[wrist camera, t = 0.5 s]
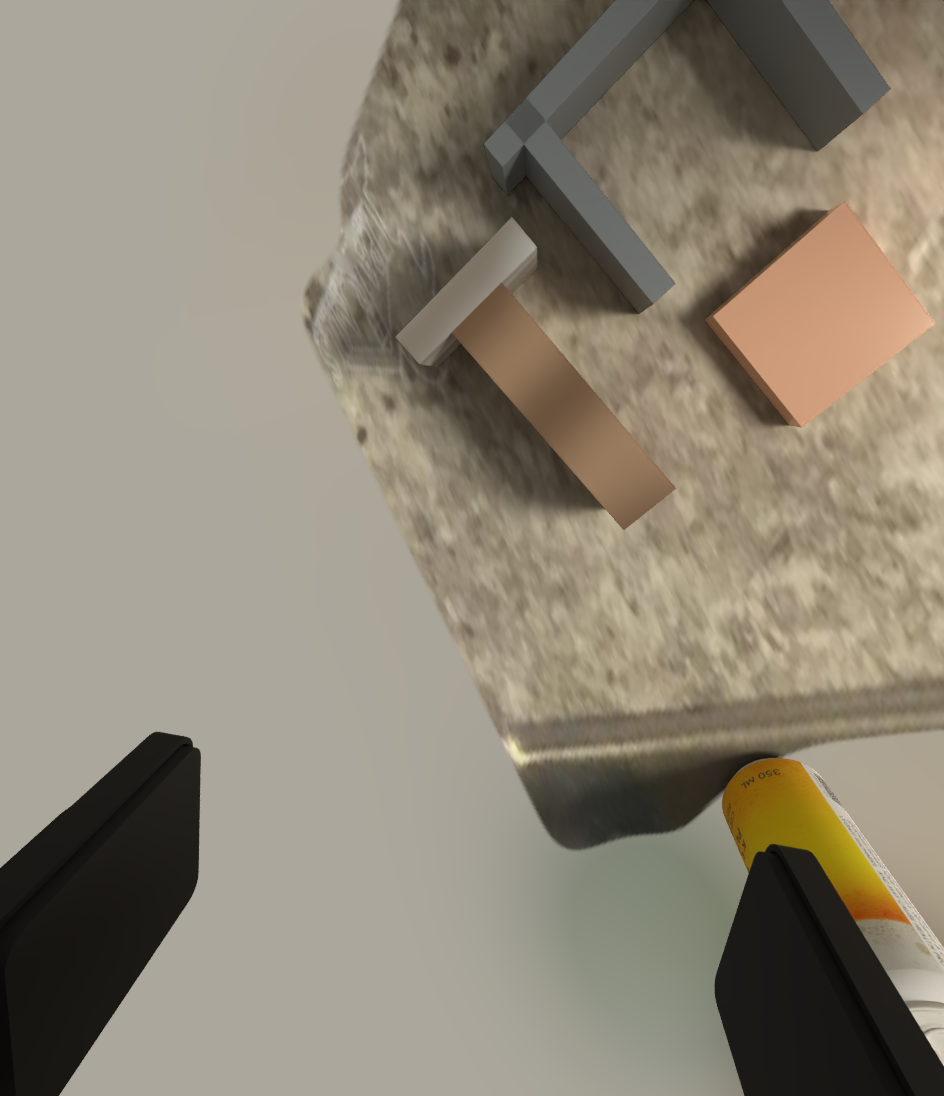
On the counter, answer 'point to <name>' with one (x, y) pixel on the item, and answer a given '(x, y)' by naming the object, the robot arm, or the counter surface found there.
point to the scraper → (535, 374)
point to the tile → (820, 317)
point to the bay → (611, 49)
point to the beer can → (842, 875)
